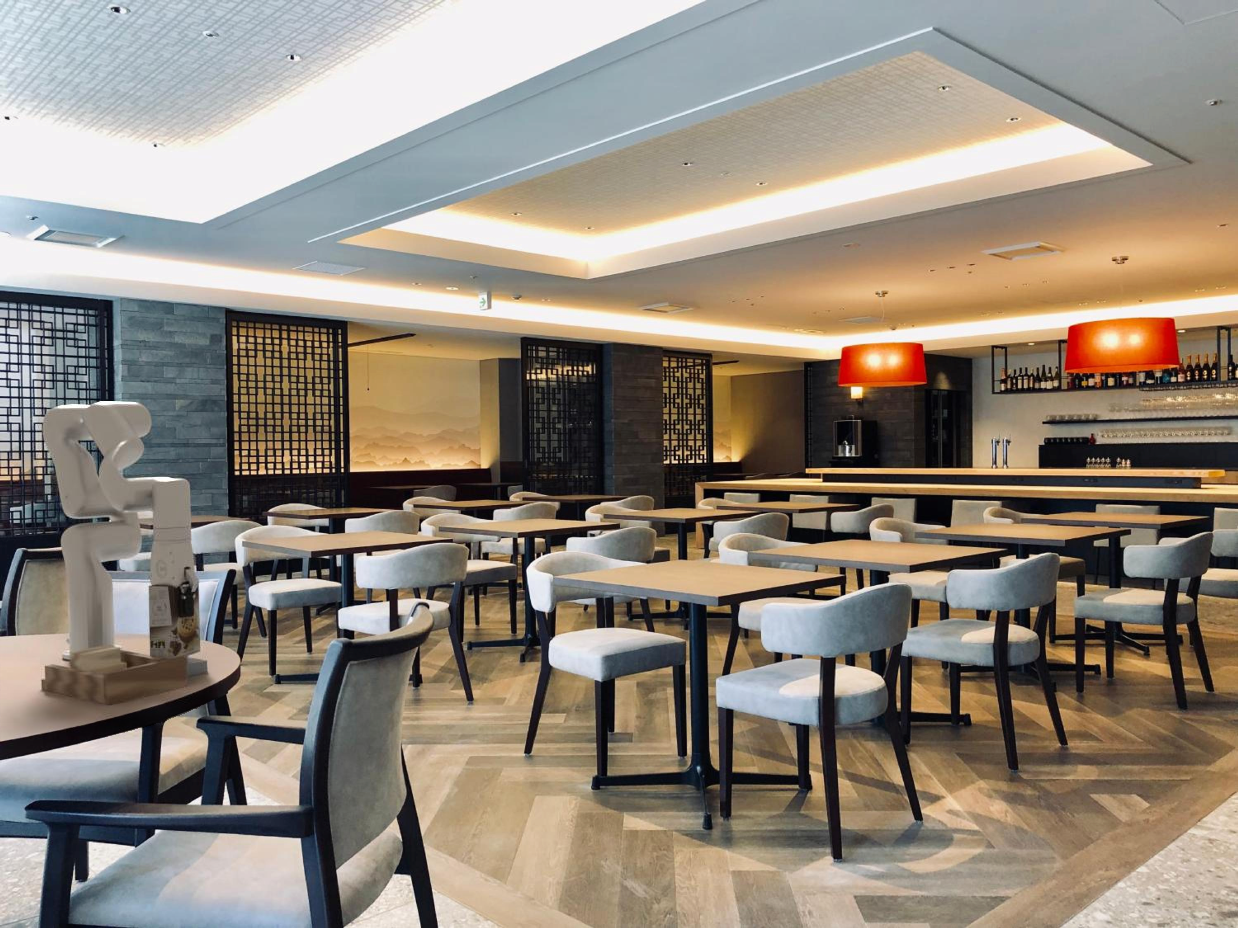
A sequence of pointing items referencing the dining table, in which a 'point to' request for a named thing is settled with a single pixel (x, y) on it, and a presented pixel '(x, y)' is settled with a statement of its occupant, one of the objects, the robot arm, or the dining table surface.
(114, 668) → the offcut bottom
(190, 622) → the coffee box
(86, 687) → the tray
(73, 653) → the offcut top
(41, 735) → the dining table surface
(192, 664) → the trivet
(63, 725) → the dining table surface
